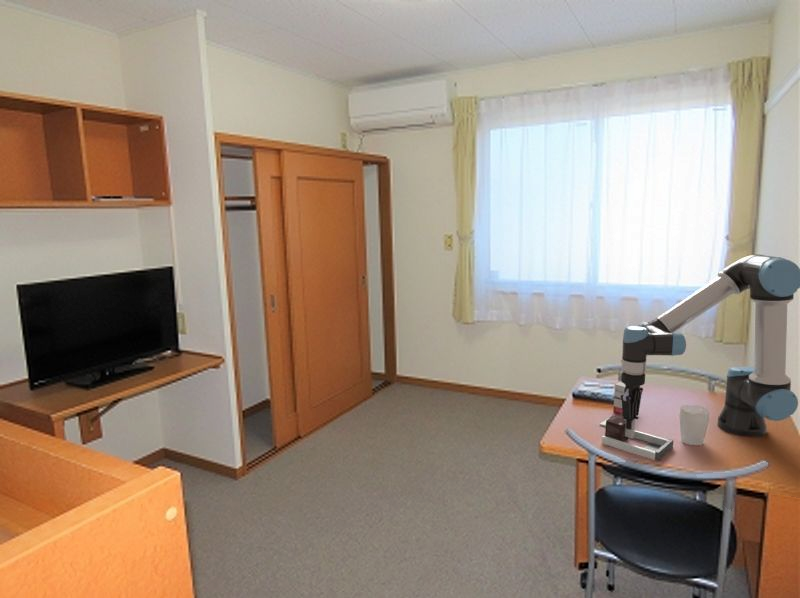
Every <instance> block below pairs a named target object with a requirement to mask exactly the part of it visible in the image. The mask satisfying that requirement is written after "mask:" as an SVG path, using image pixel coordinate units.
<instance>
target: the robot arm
mask: <svg viewBox="0 0 800 598" xmlns="http://www.w3.org/2000/svg"><path fill="white" fill-rule="evenodd" d="M798 289H800V267H799V266H798V265H797V264H796V263H795V262H793V261H792V260H790V259H786V258H784V257H780V256H772V255H771V256H770V255H764V254H751V255H748V256H745V257H742V258H739V259H738V260H736V261H735V262H733V263H731V264H729V265H728V266H727V267H725V268H723V269H722V270H721V271H719V272H717V276H716V277H715V278H714V279H712V280H711V281H710V282H708V283H707V284H705V285H703V286H702V287H700V288H699V289H698V290H696V291H694V292H693V293H691V294H690V295H689V296H687V297H686V298H684V299H683V300H681V301H679V302H678V303H676V304H675V305H673V307H671V308H669V309H668V310H667V311H665V312H663V313H662V314H661V315H659V316H657V317H656V318H654V319H653V320H651V321H643V322H641V323H639V324H638V325H637V326H636V325H629V326H627V327H625V328H624V330H623V335H622V354H621V355H622V359H621V360H620V363H621V373H620V374H621V375H620V381H621V382H622V383H624V384H625V385H626V386H625V389H624V393H625V394H624V395H621V400H622V413H623V415H622V418H623V419H625V420H626V423H625V437H628V439H635V438H634V435H635V430H636V420H639V419H640V417H639V412H640V407H641V402H642V401H641V399H642V395H643V392H644V391H643V390H644V387H641V386H644V385H645V383H646V372H647V357H648V356H671V357H673V356H682V355H683V354H684V353H685V352H686V350H687V349H686V348H687V341H686V337H685V335H683V334H682V333H680V332H677V331H678V330H680V329H681V328H683V327H684V326H686V325H687V324H690V323H691V322H692V321H693V320H695V319H697V318H698V317H700V316H701V315H703V314H705V313H706V312H707V311H709V310H711V309H712V308H714V307H715V306H716V305H718V304H720V303H722V302H723V301H725V300H726V299H727V298H728V297H731V295H739V294H741V293H742V292H744V291H746V290H749V291H750V292H749V294H750V295H749V299H750V300H751V301H752V302H754V303H755V309H754V310H755V311H754V313H755V314H754V315H755V316H754V318H755V319H754V321H755V322H754V356H753V357H754V362H753V363H754V364H753V365H754V366H753V367H752V366H732V367H730V368H729V369H727V375H726V386H725V387H726V388H725V396H724V397H725V399H724V405H723V408H722V410H721V411H720V413H719V416H718V417H717V426H718V427H719V428H720V429H721V430H723V431H724V432H727V433H729V434H733V435H737V436H741V437H749V438H750V437H752V438H755V437H762V436H763V437H764V436H765V435H766V434H767V428H768V427H767V423H766V419H767V420H768V421H774V422H779V421H784V420H786V419H788V418H790V417H791V415H794V414H795V412H796V411H797V409H798V407H799V399H798V396H797V395H796V394H795V392H793V391H792V390H791V388H792V387H791V386H792V381H791V380H792V379H791V378H790V377H789V376H788V375H787V374H786V361H787V360H786V359H787V335H788V333H787V331H788V329H787V327H788V326H787V325H788V304H790V302H792V301H793V300H794V294H795V293H797V292H798Z"/></svg>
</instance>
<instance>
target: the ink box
mask: <svg viewBox="0 0 800 598" xmlns="http://www.w3.org/2000/svg"><path fill="white" fill-rule="evenodd" d="M625 386H626V385H625V384H624V383H622V382H621V380H620V381H619V382H617V383H615V384H614V397H613V411H612V412H613V413H615V414H618V415H622V416H623V413H622V400H621V395H624V394H625V393H624V389H625Z"/></svg>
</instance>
